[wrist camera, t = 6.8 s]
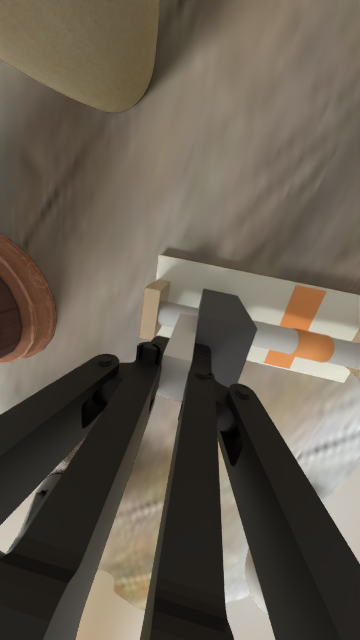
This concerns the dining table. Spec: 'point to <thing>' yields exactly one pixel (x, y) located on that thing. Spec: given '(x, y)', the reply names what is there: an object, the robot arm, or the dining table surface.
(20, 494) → the robot arm
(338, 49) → the dining table surface
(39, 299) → the mug
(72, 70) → the plant pot
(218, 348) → the dark grey slider block
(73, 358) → the dining table surface
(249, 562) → the lightbulb
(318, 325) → the rail
